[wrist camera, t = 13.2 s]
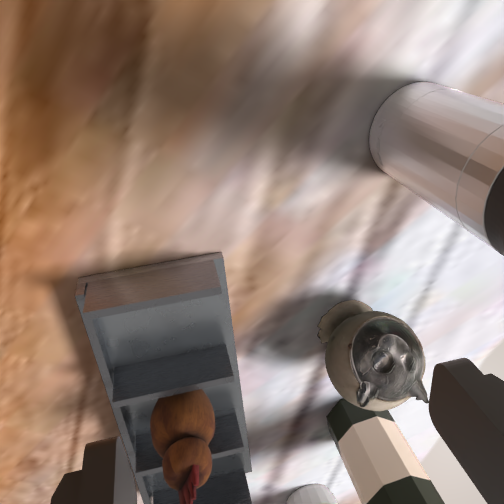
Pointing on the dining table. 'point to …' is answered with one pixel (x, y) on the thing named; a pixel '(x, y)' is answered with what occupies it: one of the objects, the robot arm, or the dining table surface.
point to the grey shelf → (169, 364)
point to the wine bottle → (379, 457)
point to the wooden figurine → (184, 440)
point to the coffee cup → (312, 495)
